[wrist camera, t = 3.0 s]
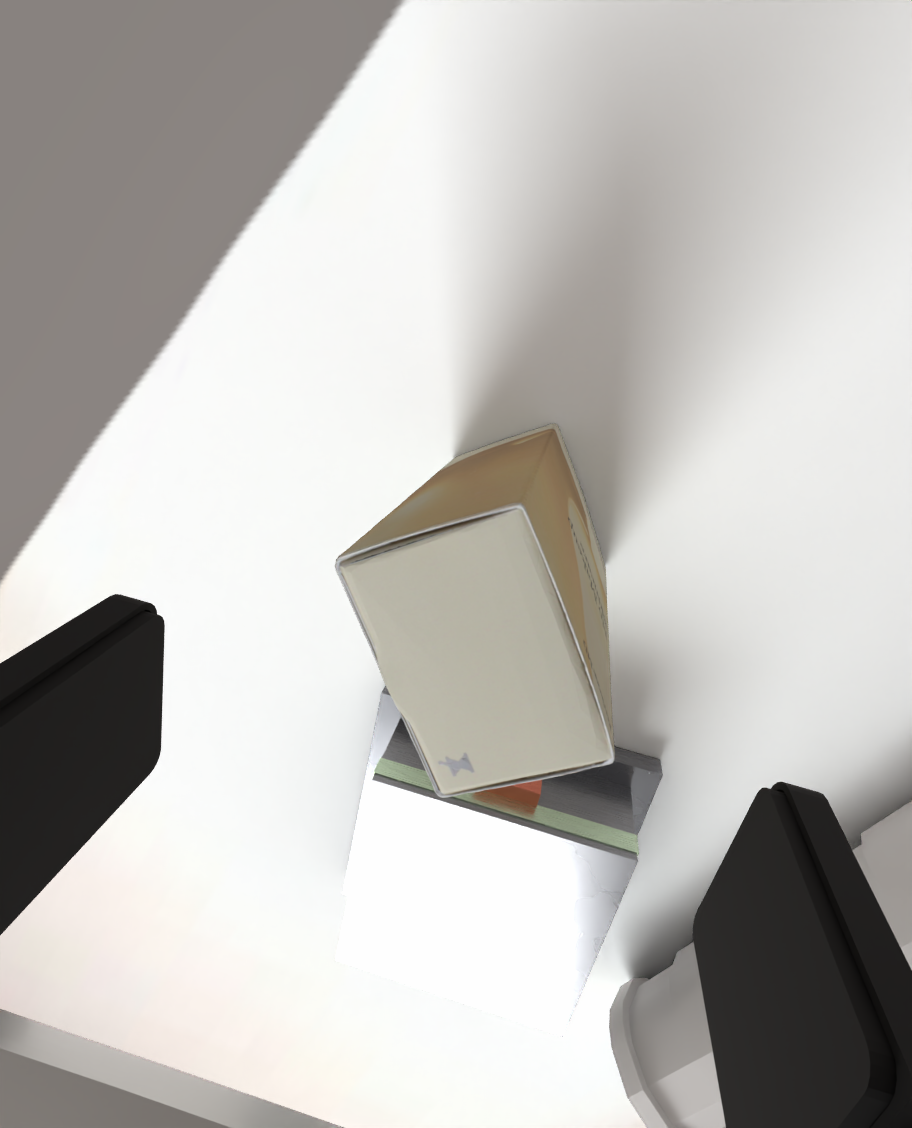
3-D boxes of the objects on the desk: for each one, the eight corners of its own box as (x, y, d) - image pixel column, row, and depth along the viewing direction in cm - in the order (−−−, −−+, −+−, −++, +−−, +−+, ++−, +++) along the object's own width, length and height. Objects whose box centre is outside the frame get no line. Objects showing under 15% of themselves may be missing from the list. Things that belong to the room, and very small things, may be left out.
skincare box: (609, 571, 25) (628, 779, 14) (503, 601, 26) (440, 815, 15) (555, 410, 23) (526, 496, 12) (445, 451, 24) (323, 563, 13)
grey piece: (660, 759, 27) (675, 849, 23) (580, 952, 32) (579, 1059, 27) (388, 680, 28) (349, 750, 24) (349, 877, 33) (310, 968, 28)
